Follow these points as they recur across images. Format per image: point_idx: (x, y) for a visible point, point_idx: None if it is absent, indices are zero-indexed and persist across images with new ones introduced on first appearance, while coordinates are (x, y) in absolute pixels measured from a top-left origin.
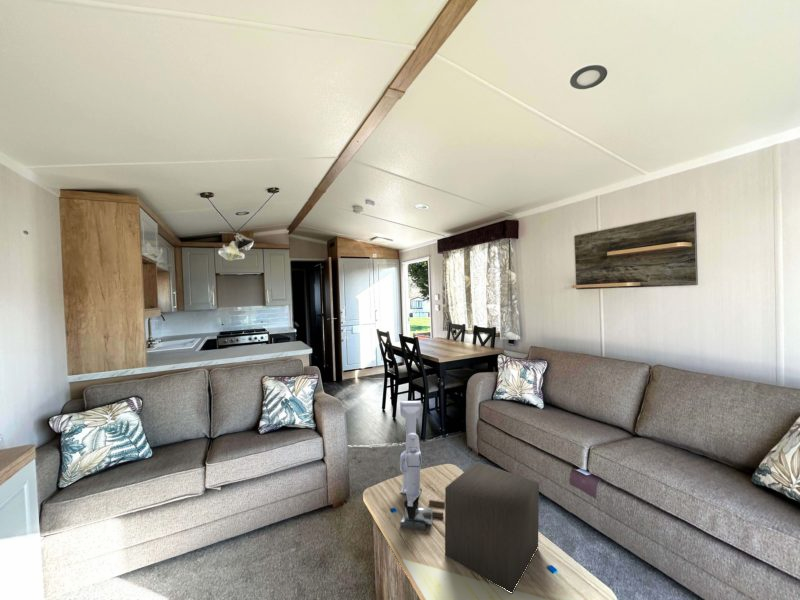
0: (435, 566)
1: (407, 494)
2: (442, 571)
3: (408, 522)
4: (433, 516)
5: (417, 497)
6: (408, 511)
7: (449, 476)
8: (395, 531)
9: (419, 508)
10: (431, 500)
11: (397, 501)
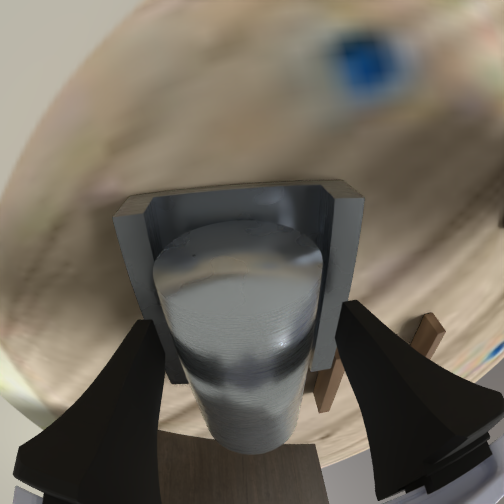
0: (32, 387)
1: None
2: (35, 399)
3: (140, 292)
4: None
5: (373, 429)
6: (105, 392)
7: None
8: (67, 176)
9: (253, 418)
10: (434, 343)
11: (465, 96)
